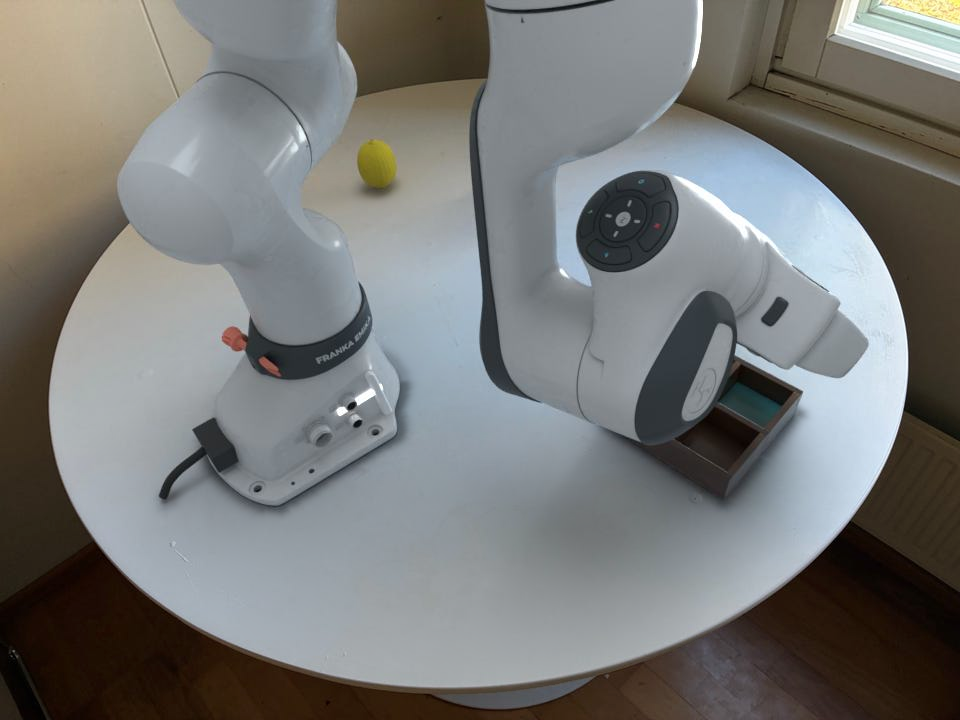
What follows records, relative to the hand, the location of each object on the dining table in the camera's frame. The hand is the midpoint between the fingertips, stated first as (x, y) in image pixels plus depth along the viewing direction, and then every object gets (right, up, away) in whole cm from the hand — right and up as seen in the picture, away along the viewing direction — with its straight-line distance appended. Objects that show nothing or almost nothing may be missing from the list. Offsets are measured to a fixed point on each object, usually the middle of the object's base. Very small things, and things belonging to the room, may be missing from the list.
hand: (777, 308), depth 71 cm
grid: (-4, -11, +11) cm, 16 cm away
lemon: (-42, +21, +43) cm, 64 cm away
